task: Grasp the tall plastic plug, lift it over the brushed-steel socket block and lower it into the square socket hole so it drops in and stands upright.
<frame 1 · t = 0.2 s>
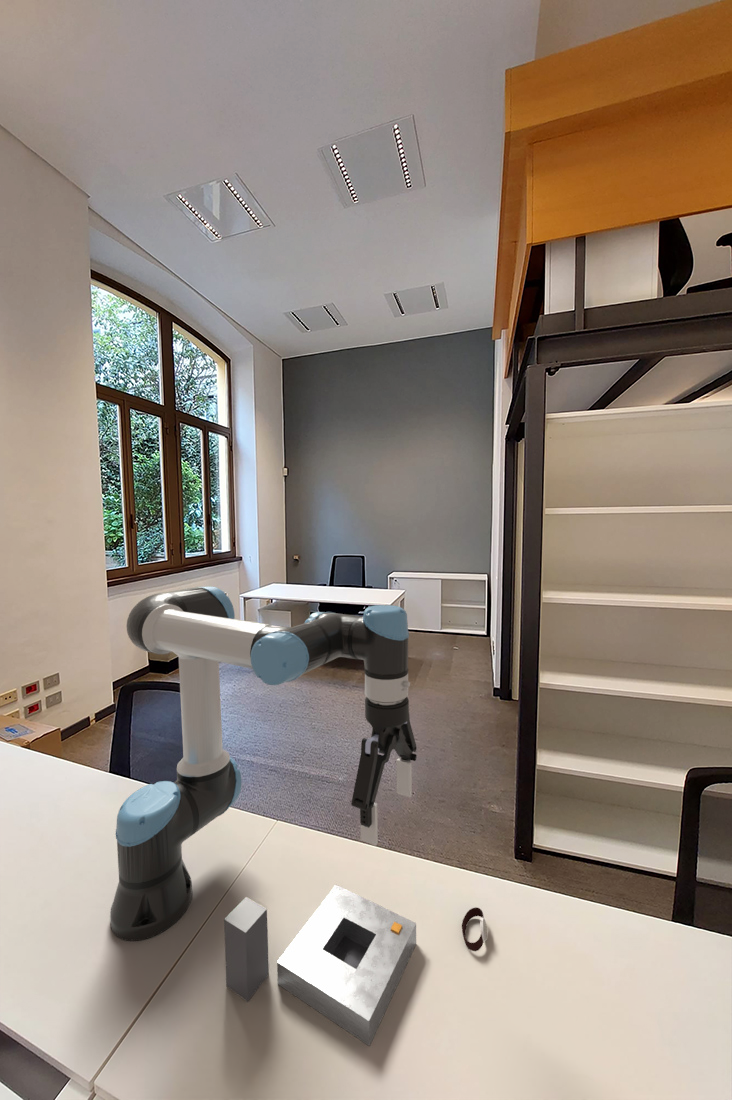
hand: (388, 816, 74), 28 cm above the table, fingers open, 13 cm apart
plug: (247, 980, 73), on the table
watch: (474, 936, 81), on the table
socket: (350, 962, 76), on the table
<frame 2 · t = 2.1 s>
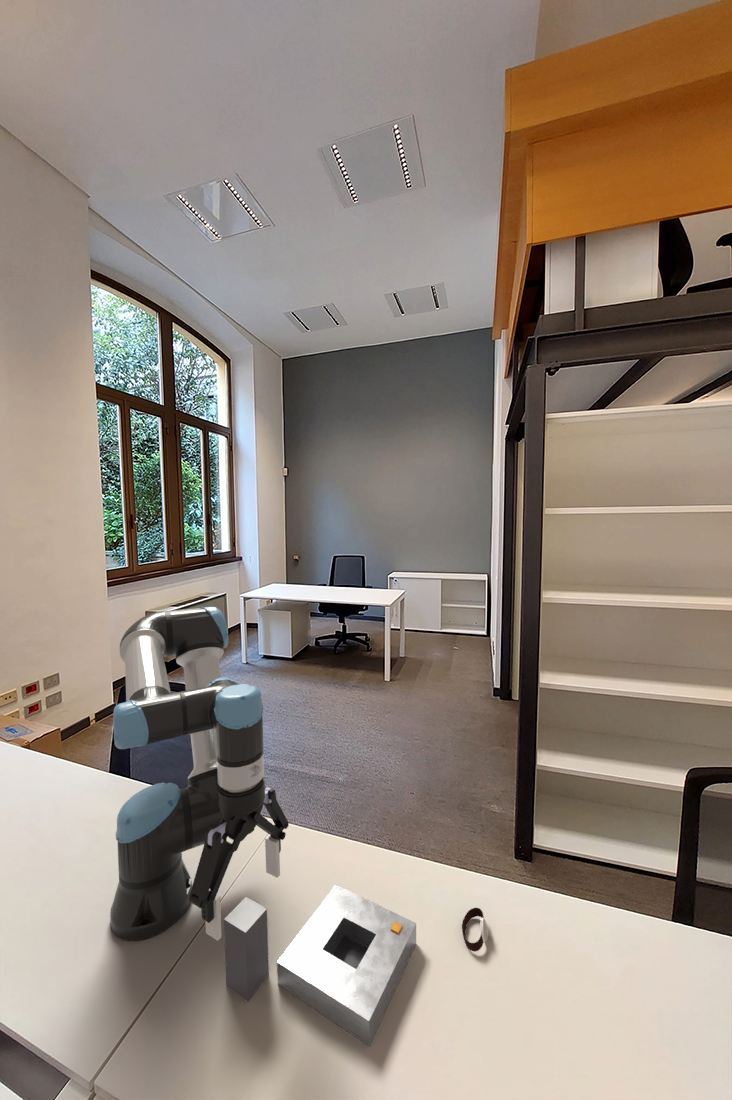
hand: (245, 902, 72), 14 cm above the table, fingers open, 13 cm apart
nothing on the table moved.
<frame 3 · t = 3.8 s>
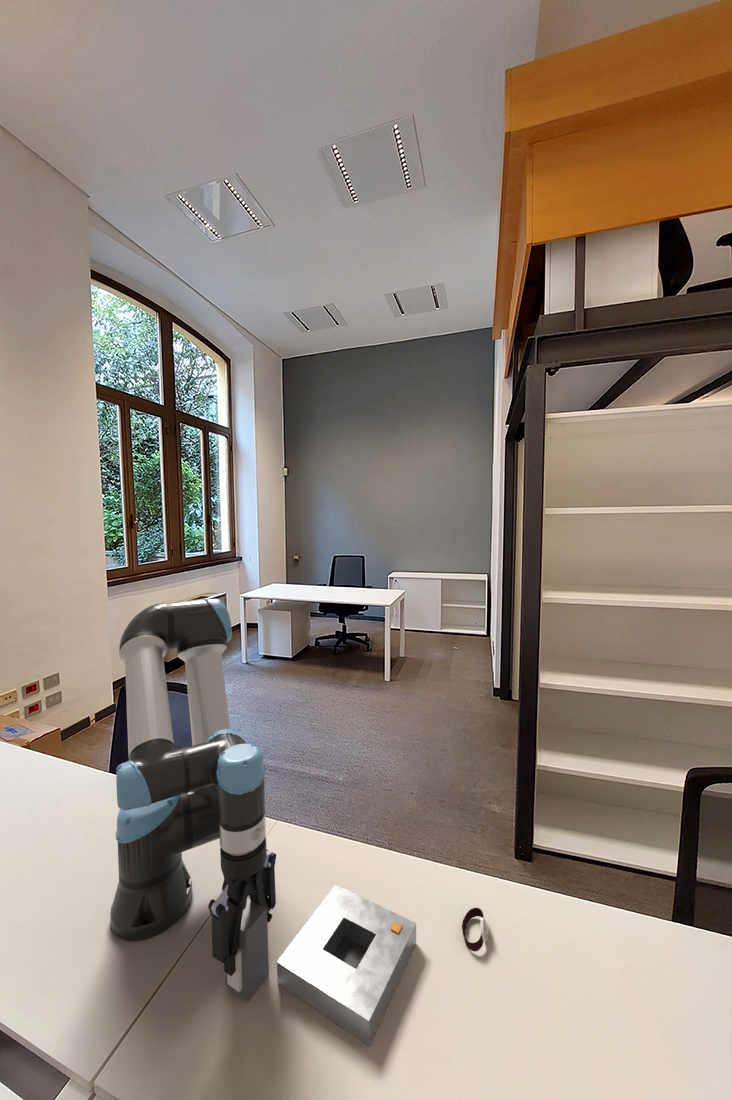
hand: (247, 970, 73), 2 cm above the table, fingers closed on plug, 5 cm apart
plug: (247, 980, 73), on the table, touching gripper
everything else where it was.
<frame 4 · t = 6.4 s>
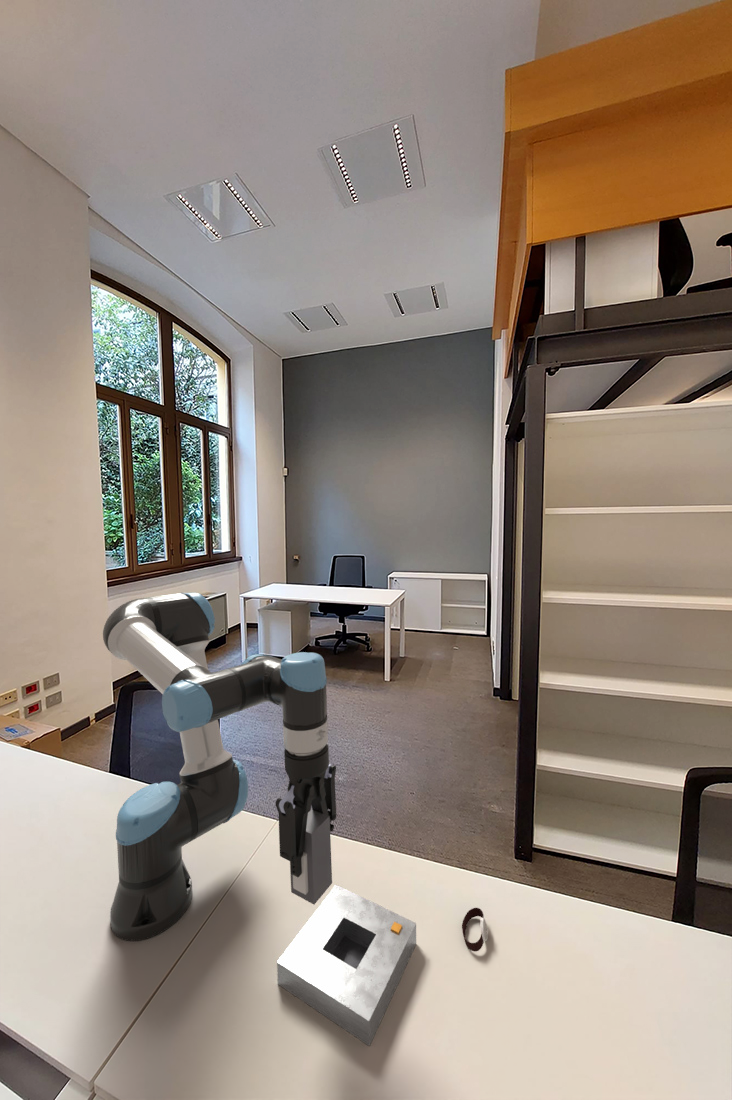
hand: (311, 877, 73), 18 cm above the table, fingers closed on plug, 5 cm apart
plug: (311, 887, 73), point 16 cm above the table, touching gripper
everything else where it was.
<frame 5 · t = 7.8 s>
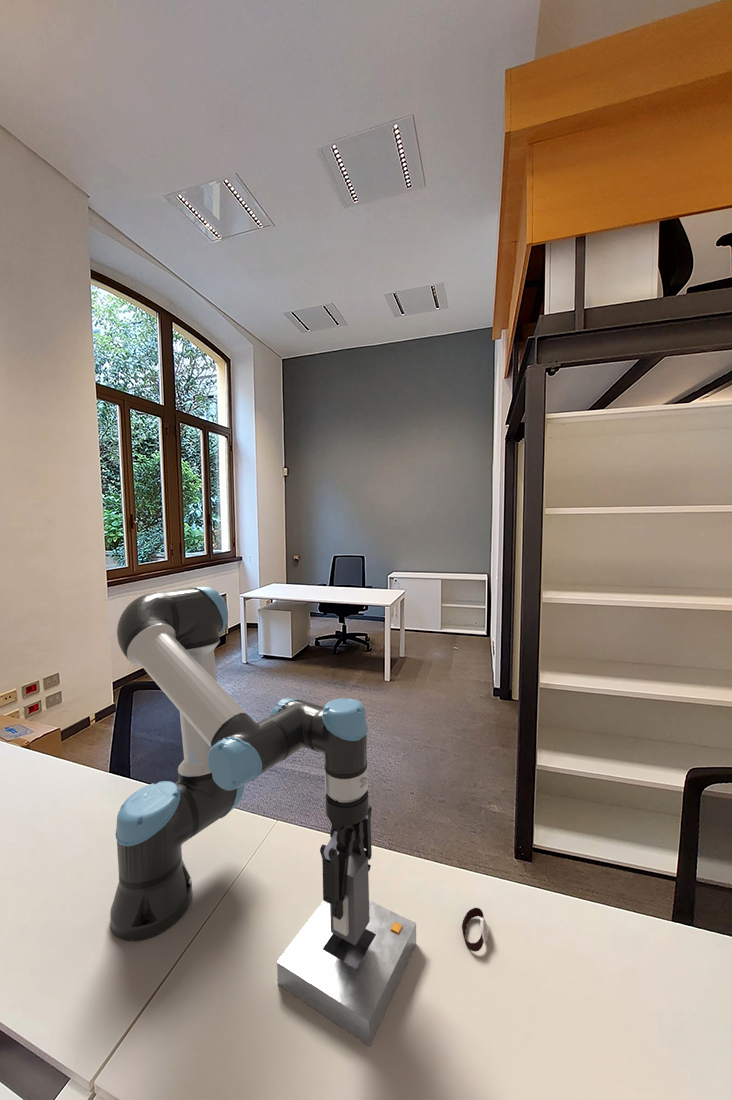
hand: (349, 917, 75), 9 cm above the table, fingers closed on plug, 5 cm apart
plug: (350, 926, 75), point 7 cm above the table, touching gripper
everything else where it was.
when the fingers open (5 cm above the table, at t = 8.9 s): plug drops 3 cm, resting on socket.
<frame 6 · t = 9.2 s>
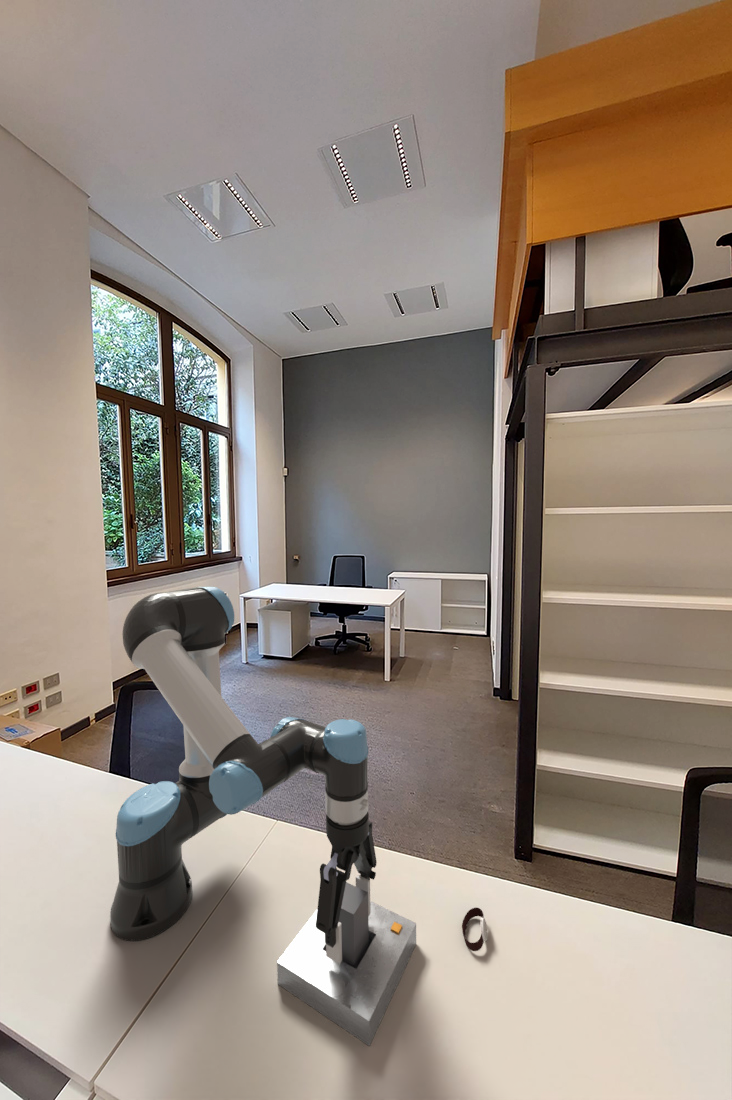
hand: (349, 933, 76), 6 cm above the table, fingers open, 9 cm apart
plug: (350, 961, 76), resting on socket
everything else where it was.
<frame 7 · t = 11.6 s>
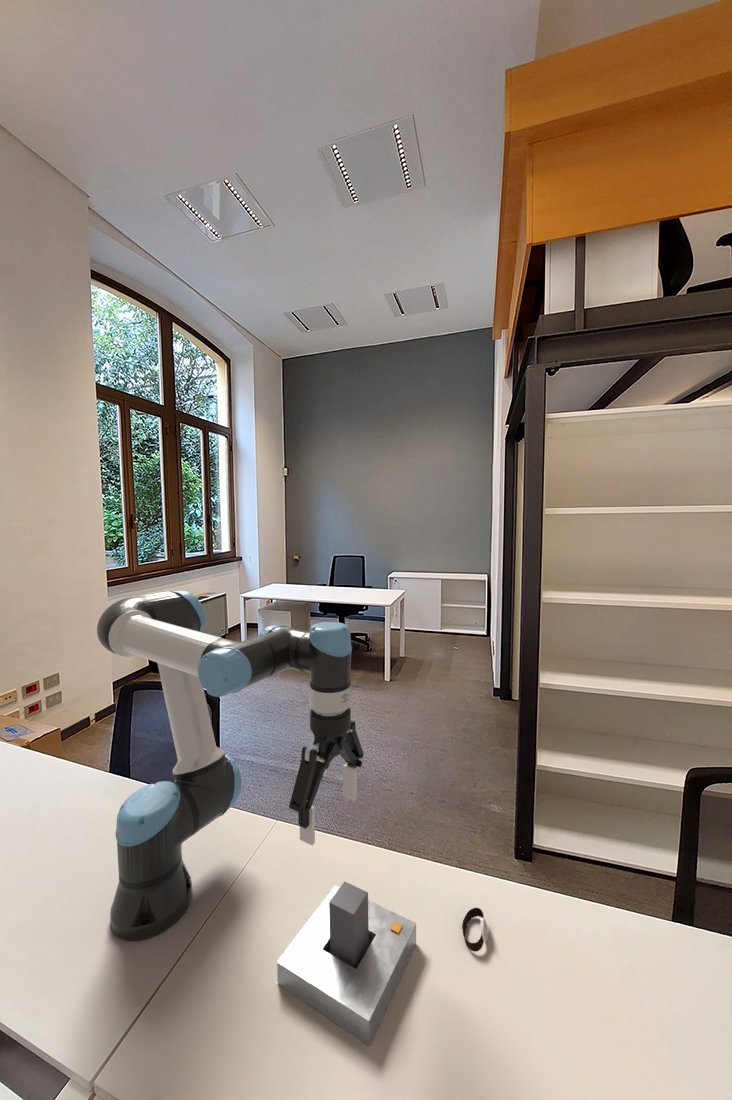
hand: (330, 818, 79), 24 cm above the table, fingers open, 13 cm apart
nothing on the table moved.
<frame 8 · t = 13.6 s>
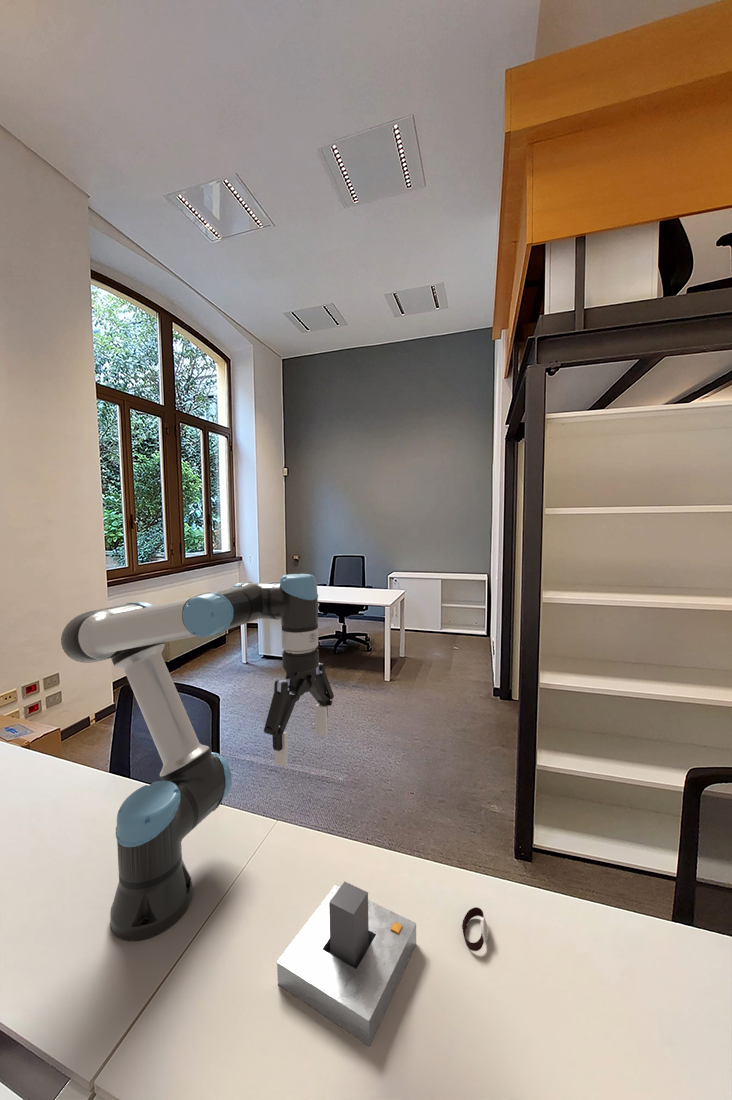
hand: (302, 748, 89), 32 cm above the table, fingers open, 13 cm apart
nothing on the table moved.
at the end: plug 0.0 cm off-centre on the socket, point 0.3 cm above the socket's base; plug tilted 0°; the gripper is holding nothing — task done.
